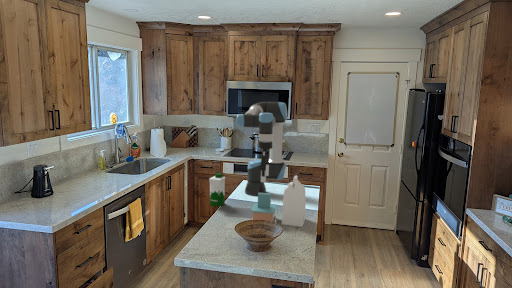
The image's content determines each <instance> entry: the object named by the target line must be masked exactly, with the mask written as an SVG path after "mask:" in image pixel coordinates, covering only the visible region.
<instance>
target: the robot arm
mask: <svg viewBox="0 0 512 288" xmlns="http://www.w3.org/2000/svg"><path fill="white" fill-rule="evenodd" d="M235 120H236V121H235V122H236V127H238V128H242V129H243V128H253V129H254V128H255V129H256V128H257V129H258V134H257V137H258V149H261V150H262V151H261V157H260V158H261V159H254V160H250V161H249V162H248V164H247V183H246V186H245V189H244V193H245V194H246V195H248V196H258V193H267V188H266V184H265V183H267V180H275V181H279V180H280V181H282V180H283V179H284V177H285V173H286V169H287V168H286V167H287V164H286V163H285V160H284V159H283V131H284V130H283V127H284V126H283V125H284V124H285V123H286V121H287V120H288V108H287V104H286V103H285V102H281V101H261V102H257V103H254V104H252V105H251V106H250V107H249V109H248V110H247V111H246V112H245V113H238V114H237V115H236V119H235Z"/></svg>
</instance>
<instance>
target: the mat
mask: <svg viewBox="0 0 512 288" xmlns="http://www.w3.org/2000/svg"><path fill="white" fill-rule="evenodd" d="M251 209H252V207H250V208H249V207H238V206H237V207H236V206H235V207H234V206H230V207H229V208H228V210H227V211H226V212H225V214H224V217H229V218H243V219H253V212H251Z"/></svg>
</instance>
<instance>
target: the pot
mask: <svg viewBox="0 0 512 288" xmlns="http://www.w3.org/2000/svg"><path fill="white" fill-rule="evenodd" d="M274 218H275V213H274V214H272V213H259V212H253V216H252V221H253V220H267V221H272V222H273V223H274V220H275V219H274Z"/></svg>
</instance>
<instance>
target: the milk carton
mask: <svg viewBox="0 0 512 288" xmlns="http://www.w3.org/2000/svg"><path fill="white" fill-rule="evenodd" d="M208 181H209V206H210V207H217V208H220V207H222V206H223V205H225V202H226V200H225V198H226V197H225V196H226V185H225V183H226V176H223V173H221V172H217V173H215V174H214V176H211V177H210V178H208Z"/></svg>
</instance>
